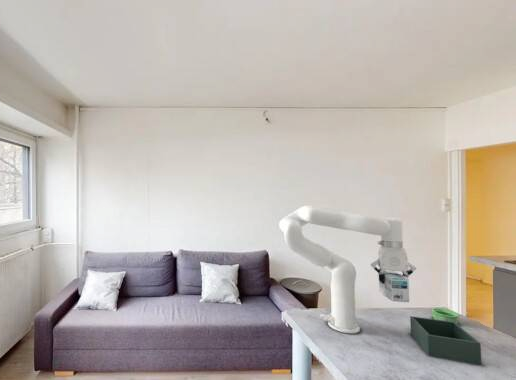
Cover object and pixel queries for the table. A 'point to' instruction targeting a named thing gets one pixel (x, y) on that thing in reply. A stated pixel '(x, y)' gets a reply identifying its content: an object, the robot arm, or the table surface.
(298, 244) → the robot arm
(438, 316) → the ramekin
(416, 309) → the table surface
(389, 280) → the light bulb box
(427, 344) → the open storage box
